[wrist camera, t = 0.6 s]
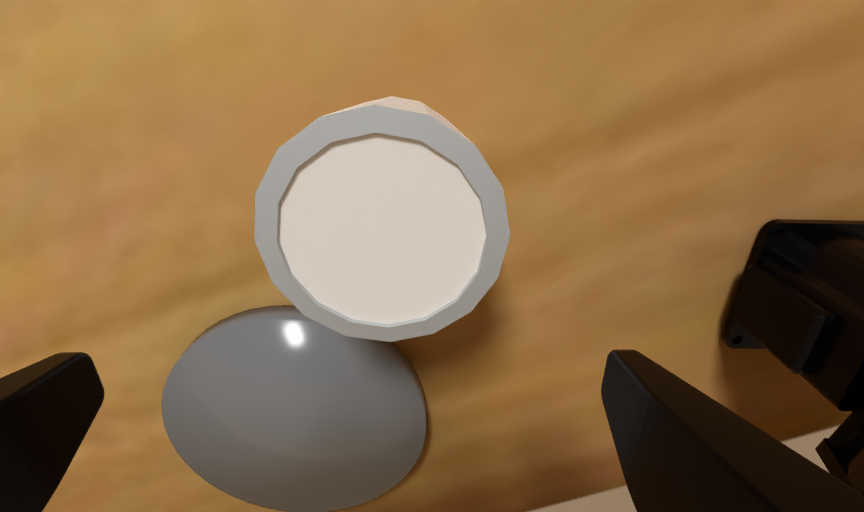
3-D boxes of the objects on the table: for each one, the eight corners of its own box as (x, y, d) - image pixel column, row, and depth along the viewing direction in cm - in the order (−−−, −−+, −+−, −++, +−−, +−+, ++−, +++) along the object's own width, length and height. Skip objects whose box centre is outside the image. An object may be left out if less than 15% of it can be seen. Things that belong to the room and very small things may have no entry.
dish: (429, 306, 21) (429, 321, 20) (423, 493, 27) (423, 512, 26) (145, 303, 21) (130, 318, 20) (200, 493, 27) (191, 512, 26)
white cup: (515, 167, 18) (564, 235, 12) (401, 275, 21) (392, 381, 14) (388, 36, 16) (368, 37, 10) (275, 172, 18) (198, 243, 12)
